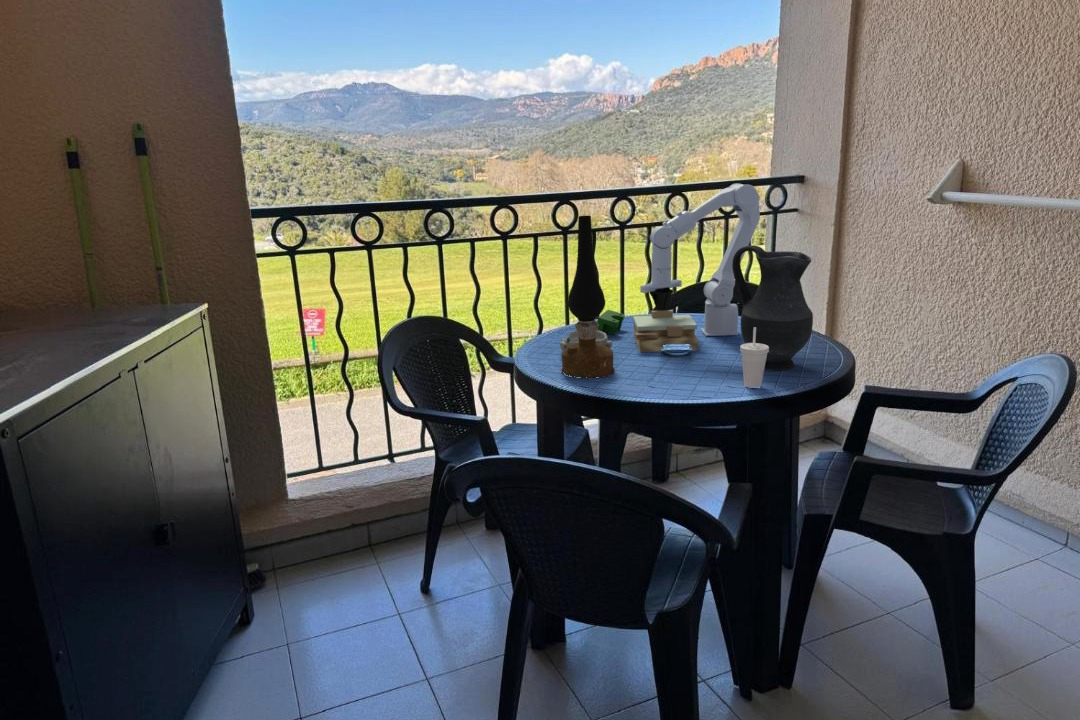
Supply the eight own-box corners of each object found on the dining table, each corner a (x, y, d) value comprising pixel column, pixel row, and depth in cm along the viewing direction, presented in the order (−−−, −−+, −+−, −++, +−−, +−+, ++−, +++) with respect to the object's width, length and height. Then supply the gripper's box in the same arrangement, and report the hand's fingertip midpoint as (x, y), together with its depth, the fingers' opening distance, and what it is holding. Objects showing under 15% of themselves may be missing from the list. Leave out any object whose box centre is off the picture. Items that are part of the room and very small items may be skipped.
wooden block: (656, 336, 190) (656, 332, 190) (657, 339, 188) (657, 334, 187) (635, 337, 190) (635, 332, 190) (636, 339, 188) (636, 334, 188)
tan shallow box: (687, 334, 204) (687, 318, 202) (697, 350, 188) (698, 332, 186) (633, 336, 205) (634, 320, 203) (639, 351, 188) (639, 334, 187)
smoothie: (761, 381, 161) (764, 324, 157) (771, 390, 155) (774, 330, 151) (734, 382, 161) (737, 325, 157) (743, 391, 155) (746, 332, 150)
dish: (560, 359, 185) (559, 342, 183) (560, 346, 198) (559, 329, 197) (613, 358, 184) (613, 340, 183) (609, 344, 197) (609, 328, 196)
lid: (689, 323, 202) (689, 308, 201) (697, 335, 188) (698, 319, 187) (633, 325, 203) (633, 310, 201) (638, 337, 189) (638, 321, 188)
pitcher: (790, 380, 161) (800, 254, 152) (713, 364, 175) (717, 248, 166) (820, 362, 172) (830, 244, 164) (745, 349, 186) (751, 240, 178)
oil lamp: (618, 378, 178) (643, 225, 171) (603, 386, 164) (629, 220, 157) (569, 367, 183) (592, 218, 176) (550, 375, 169) (573, 213, 162)
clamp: (611, 348, 208) (614, 326, 202) (593, 343, 210) (596, 320, 204) (623, 326, 217) (627, 303, 210) (606, 320, 218) (609, 298, 212)
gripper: (651, 272, 191) (651, 319, 195) (689, 266, 198) (688, 311, 202) (635, 269, 197) (635, 315, 201) (672, 264, 204) (671, 308, 208)
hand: (660, 313), depth 202 cm, fingers closed
